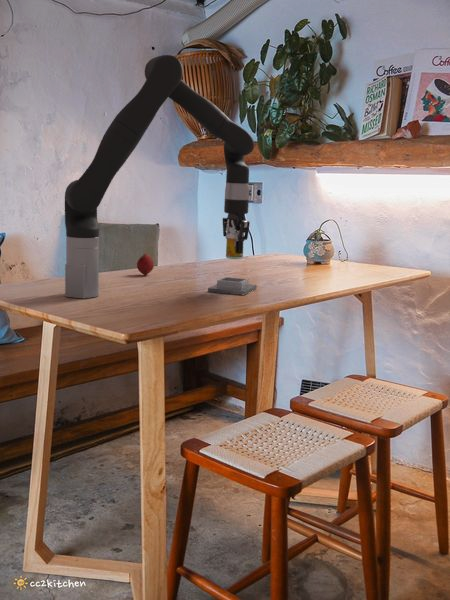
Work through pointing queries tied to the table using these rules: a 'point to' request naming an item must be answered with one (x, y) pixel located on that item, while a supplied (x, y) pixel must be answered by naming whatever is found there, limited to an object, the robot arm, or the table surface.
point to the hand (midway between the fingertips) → (234, 251)
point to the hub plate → (232, 286)
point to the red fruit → (145, 264)
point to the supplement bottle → (232, 246)
